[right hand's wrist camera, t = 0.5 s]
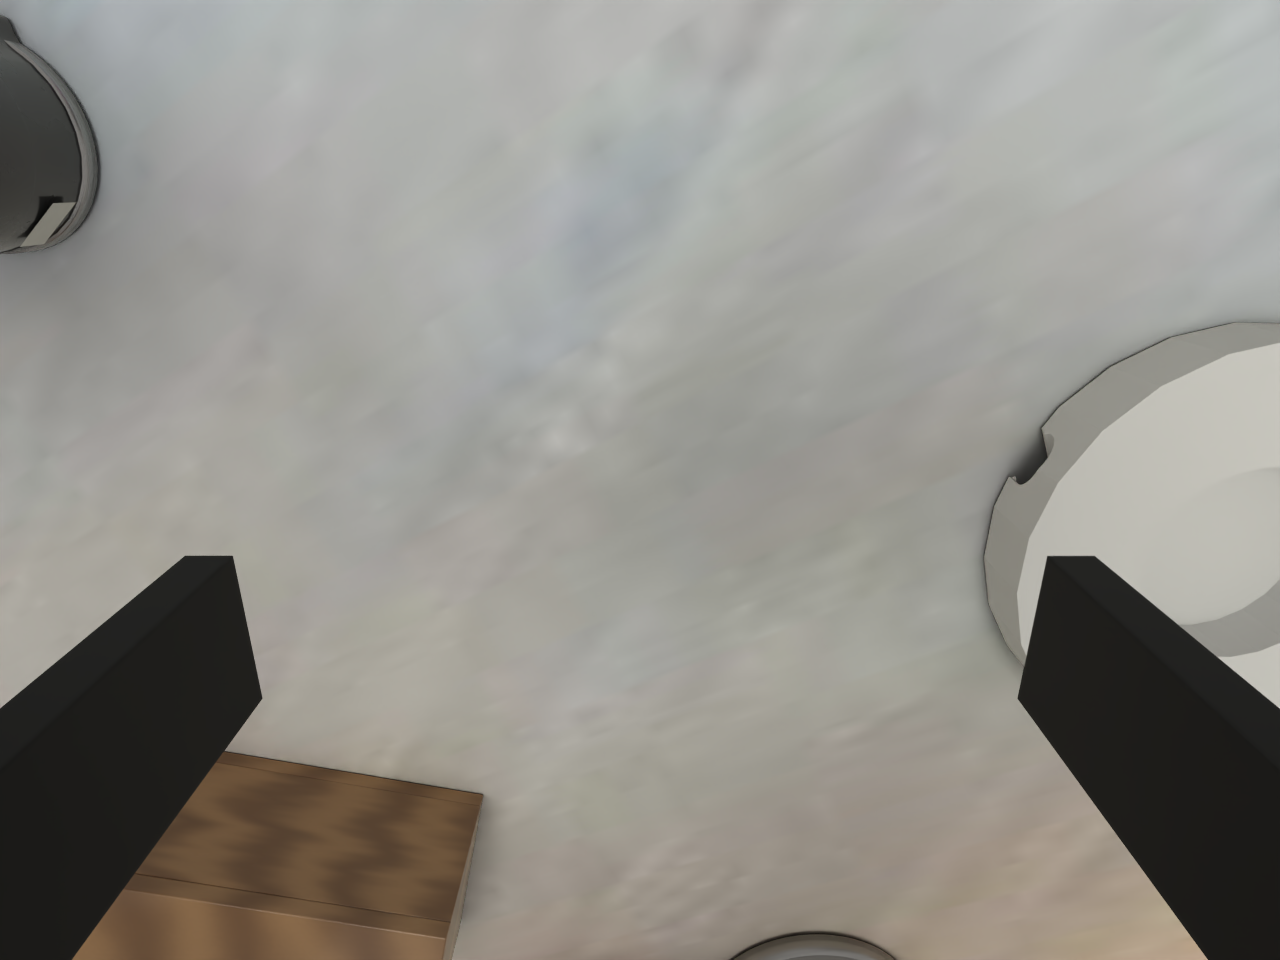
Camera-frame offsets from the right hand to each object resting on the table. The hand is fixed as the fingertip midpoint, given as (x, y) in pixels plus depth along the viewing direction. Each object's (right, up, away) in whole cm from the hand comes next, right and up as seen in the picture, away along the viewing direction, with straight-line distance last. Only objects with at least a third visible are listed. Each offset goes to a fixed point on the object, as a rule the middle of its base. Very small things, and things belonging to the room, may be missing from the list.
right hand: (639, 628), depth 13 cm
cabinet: (-22, -20, +37) cm, 48 cm away
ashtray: (+30, 0, +30) cm, 42 cm away
